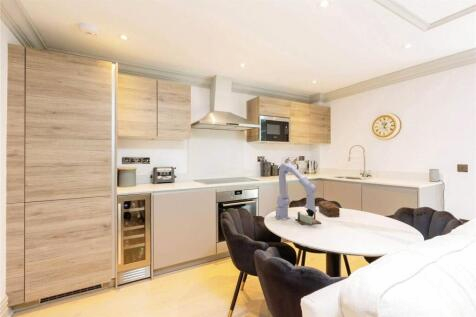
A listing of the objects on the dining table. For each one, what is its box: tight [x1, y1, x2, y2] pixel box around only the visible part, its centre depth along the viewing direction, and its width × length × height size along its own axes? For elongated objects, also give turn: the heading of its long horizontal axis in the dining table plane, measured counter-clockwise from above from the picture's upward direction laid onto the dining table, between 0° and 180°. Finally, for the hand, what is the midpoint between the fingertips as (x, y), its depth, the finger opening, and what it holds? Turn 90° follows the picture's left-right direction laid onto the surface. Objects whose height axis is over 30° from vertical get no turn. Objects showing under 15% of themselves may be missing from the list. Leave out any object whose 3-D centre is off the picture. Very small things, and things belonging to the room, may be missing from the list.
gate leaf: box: [300, 212, 314, 225], centre depth 166 cm, size 11×2×5 cm, turn 29°
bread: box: [318, 200, 341, 218], centre depth 191 cm, size 19×11×10 cm, turn 2°
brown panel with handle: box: [294, 211, 322, 226], centre depth 171 cm, size 16×12×7 cm
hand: (310, 219), depth 165 cm, fingers closed
